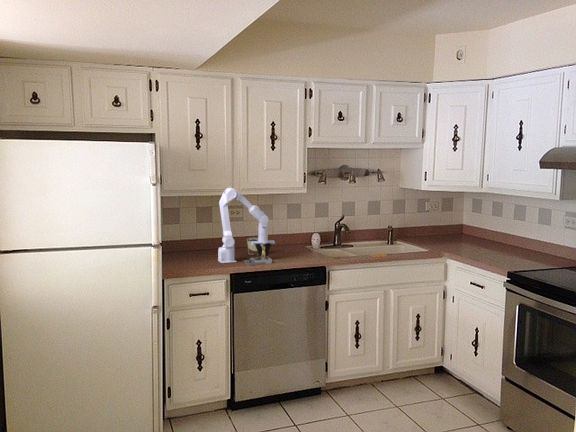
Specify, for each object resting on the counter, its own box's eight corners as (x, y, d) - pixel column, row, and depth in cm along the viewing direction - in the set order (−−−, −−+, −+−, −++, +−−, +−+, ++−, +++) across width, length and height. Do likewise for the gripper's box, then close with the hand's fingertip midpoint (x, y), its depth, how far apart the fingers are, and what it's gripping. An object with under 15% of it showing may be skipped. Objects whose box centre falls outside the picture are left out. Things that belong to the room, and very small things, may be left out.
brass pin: (261, 260, 312) (261, 247, 311) (258, 259, 316) (258, 246, 314) (267, 260, 313) (267, 247, 312) (264, 258, 317) (264, 246, 316)
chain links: (247, 265, 299) (247, 260, 299) (243, 262, 306) (243, 257, 306) (271, 263, 305) (271, 258, 305) (267, 260, 312) (267, 255, 312)
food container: (267, 253, 334) (267, 238, 332) (264, 255, 328) (264, 239, 327) (250, 252, 338) (250, 237, 337) (246, 253, 332) (246, 238, 331)
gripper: (254, 235, 306) (254, 258, 308) (276, 234, 312) (276, 256, 313) (250, 233, 312) (250, 255, 314) (272, 232, 318) (272, 254, 320)
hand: (263, 255), depth 314 cm, fingers closed on brass pin, 4 cm apart
